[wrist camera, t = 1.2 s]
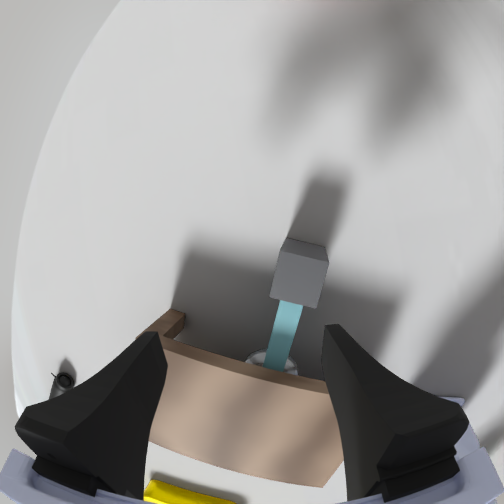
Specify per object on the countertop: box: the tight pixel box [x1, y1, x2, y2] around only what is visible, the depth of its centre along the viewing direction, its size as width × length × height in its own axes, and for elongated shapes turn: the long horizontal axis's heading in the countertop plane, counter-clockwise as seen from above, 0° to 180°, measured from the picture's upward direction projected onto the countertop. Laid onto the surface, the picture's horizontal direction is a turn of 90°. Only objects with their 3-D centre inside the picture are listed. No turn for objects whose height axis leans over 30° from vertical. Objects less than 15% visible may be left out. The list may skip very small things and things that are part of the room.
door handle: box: [49, 373, 73, 399], centre depth 32 cm, size 3×20×16 cm
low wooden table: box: [136, 309, 344, 488], centre depth 22 cm, size 18×12×6 cm, turn 79°
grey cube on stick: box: [262, 238, 329, 372], centre depth 21 cm, size 9×16×5 cm, turn 169°
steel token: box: [245, 349, 298, 375], centre depth 24 cm, size 5×5×1 cm
